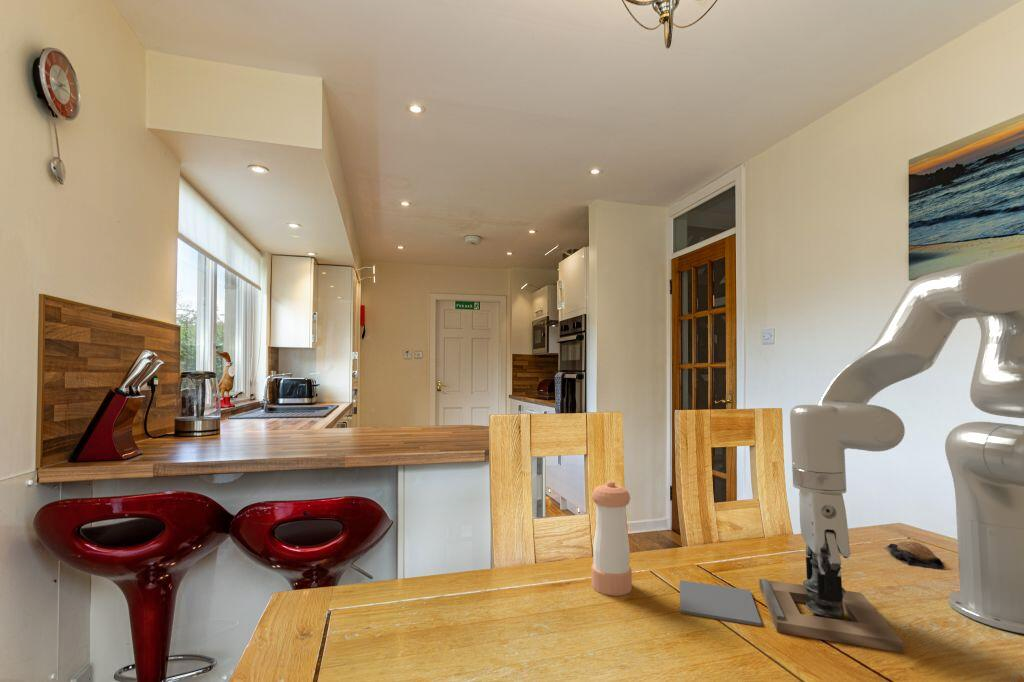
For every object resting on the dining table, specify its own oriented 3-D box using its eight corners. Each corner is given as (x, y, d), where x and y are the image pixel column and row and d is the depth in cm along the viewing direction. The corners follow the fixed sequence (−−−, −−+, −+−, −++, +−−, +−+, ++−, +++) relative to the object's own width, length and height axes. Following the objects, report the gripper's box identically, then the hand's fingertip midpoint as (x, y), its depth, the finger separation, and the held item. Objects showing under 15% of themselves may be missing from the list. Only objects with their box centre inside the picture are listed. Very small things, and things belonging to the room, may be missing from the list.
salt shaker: (833, 601, 80) (830, 529, 81) (854, 619, 75) (851, 541, 75) (797, 599, 81) (793, 528, 82) (815, 617, 75) (811, 540, 76)
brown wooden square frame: (861, 601, 83) (861, 589, 83) (903, 652, 68) (902, 638, 68) (759, 587, 88) (759, 576, 88) (777, 632, 73) (776, 618, 73)
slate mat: (749, 592, 86) (749, 589, 86) (761, 626, 74) (761, 623, 74) (679, 582, 90) (679, 580, 90) (680, 613, 78) (680, 610, 78)
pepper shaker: (639, 591, 86) (638, 484, 87) (605, 598, 83) (604, 487, 84) (616, 575, 92) (616, 476, 94) (584, 581, 90) (584, 478, 91)
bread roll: (881, 550, 109) (880, 533, 109) (926, 554, 106) (925, 537, 106) (901, 567, 99) (900, 549, 99) (952, 573, 96) (951, 554, 96)
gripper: (865, 494, 70) (871, 620, 69) (828, 470, 86) (833, 572, 85) (806, 490, 72) (812, 612, 71) (782, 468, 88) (786, 567, 87)
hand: (823, 589), depth 78 cm, fingers closed on salt shaker, 5 cm apart
